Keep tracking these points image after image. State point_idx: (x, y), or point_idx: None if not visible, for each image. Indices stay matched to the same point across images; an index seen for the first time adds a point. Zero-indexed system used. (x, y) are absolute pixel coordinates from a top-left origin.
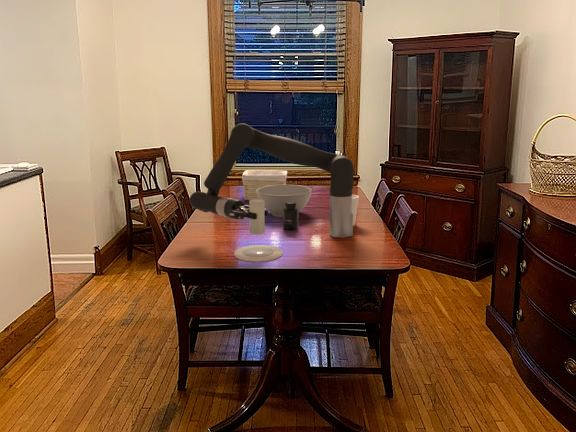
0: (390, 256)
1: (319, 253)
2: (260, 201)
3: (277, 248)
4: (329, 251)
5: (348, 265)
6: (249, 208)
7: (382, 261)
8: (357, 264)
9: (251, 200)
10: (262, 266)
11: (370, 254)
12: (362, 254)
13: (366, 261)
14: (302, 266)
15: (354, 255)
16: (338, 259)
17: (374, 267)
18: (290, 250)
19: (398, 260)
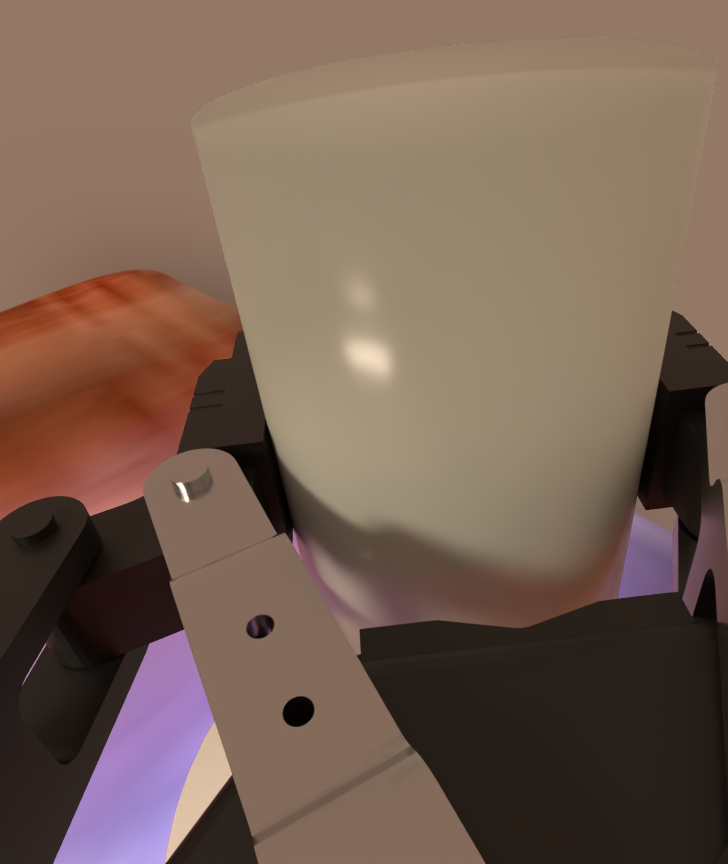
0: (21, 326)
1: (118, 499)
2: (412, 60)
3: (215, 759)
4: (46, 490)
5: (233, 336)
6: (666, 334)
7: (105, 311)
8: (197, 329)
9: (567, 103)
10: (631, 538)
11: (21, 368)
12: (35, 382)
13: (137, 332)
14: None
15: (68, 390)
16: (174, 393)
17: (196, 293)
18: (151, 680)
19: (65, 297)
